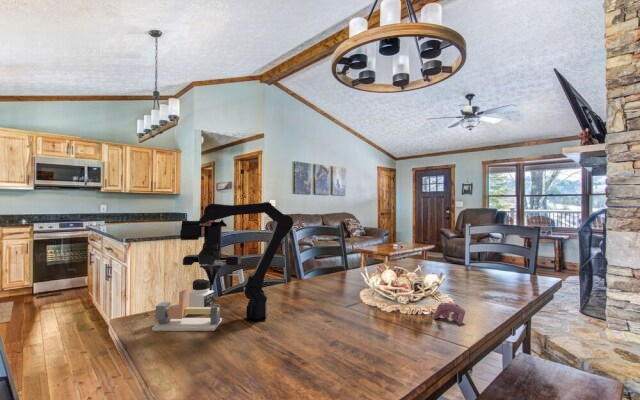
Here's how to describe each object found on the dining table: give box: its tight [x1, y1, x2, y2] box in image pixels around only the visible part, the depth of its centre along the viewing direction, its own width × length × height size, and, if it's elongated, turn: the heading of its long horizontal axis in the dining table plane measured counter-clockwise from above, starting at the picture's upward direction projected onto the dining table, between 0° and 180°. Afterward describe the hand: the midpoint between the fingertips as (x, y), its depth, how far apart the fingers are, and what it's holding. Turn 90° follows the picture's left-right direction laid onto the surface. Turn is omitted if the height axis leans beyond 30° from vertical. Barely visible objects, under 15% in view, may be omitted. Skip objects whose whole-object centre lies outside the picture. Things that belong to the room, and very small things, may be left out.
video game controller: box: [433, 302, 466, 326], centre depth 119 cm, size 10×5×7 cm, turn 48°
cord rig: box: [151, 301, 223, 332], centre depth 112 cm, size 20×9×7 cm, turn 91°
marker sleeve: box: [170, 287, 190, 319], centre depth 112 cm, size 4×6×9 cm, turn 1°
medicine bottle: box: [189, 278, 215, 307], centre depth 127 cm, size 7×7×12 cm
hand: (212, 284), depth 115 cm, fingers closed
